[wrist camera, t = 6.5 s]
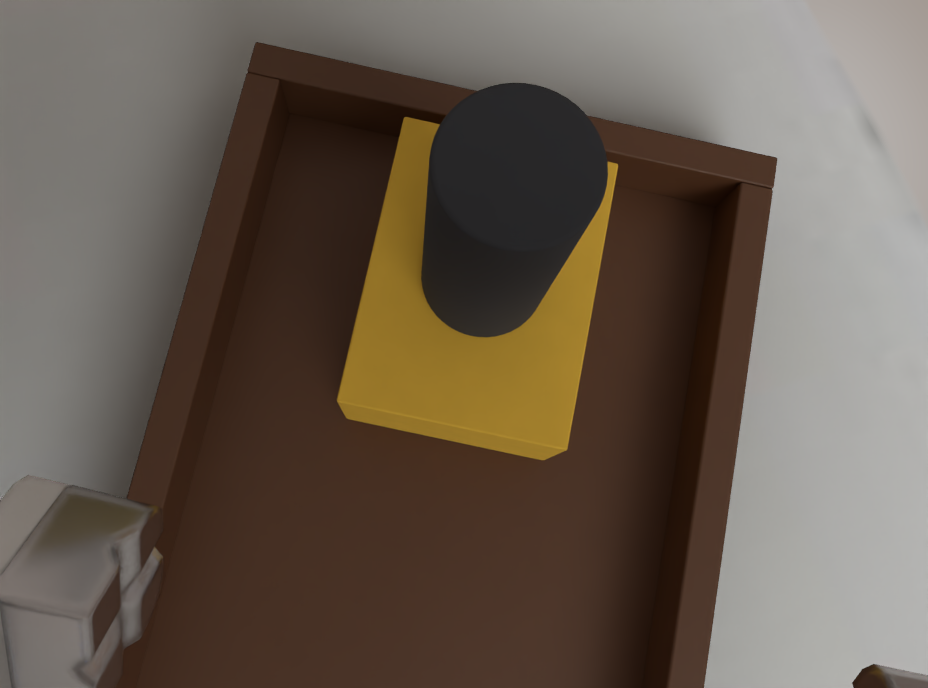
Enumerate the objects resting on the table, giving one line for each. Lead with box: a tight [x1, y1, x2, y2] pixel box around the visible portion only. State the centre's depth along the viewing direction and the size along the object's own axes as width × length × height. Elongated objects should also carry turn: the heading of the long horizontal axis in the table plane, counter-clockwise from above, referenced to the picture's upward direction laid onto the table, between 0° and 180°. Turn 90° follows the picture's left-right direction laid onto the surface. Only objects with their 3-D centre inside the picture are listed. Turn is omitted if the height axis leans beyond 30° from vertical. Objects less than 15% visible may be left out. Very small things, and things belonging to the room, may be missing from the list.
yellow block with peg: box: [337, 83, 618, 460], centre depth 17 cm, size 6×5×9 cm
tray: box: [115, 42, 777, 688], centre depth 19 cm, size 26×13×2 cm, turn 168°
